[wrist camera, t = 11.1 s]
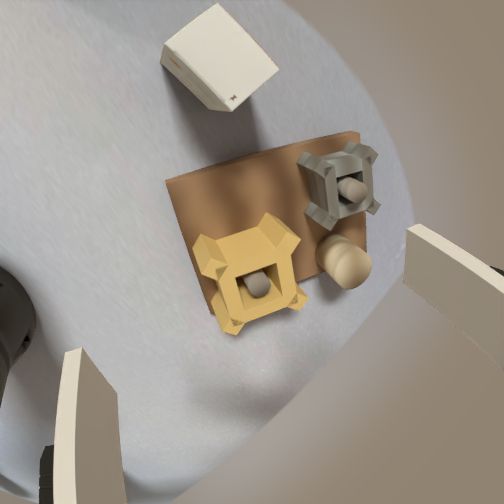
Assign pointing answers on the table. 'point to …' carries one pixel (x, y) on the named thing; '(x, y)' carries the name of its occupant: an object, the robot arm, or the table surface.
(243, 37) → the small box
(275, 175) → the board
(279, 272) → the tan notched block
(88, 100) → the table surface
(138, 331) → the table surface
